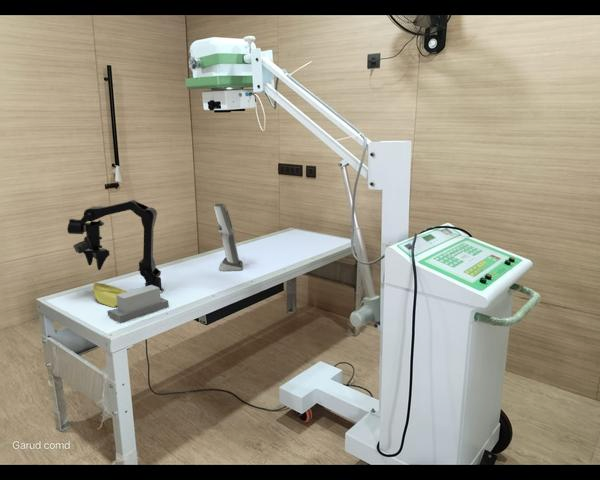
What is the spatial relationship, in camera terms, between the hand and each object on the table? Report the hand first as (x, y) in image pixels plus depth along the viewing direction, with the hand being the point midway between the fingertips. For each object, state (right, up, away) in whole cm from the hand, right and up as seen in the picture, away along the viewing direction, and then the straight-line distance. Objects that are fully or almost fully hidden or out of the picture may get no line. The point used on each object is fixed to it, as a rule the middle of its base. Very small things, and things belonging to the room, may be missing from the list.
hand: (94, 267), depth 222 cm
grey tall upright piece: (+59, -3, +38) cm, 70 cm away
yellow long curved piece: (+11, -15, -6) cm, 19 cm away
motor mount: (+27, -17, -20) cm, 38 cm away
